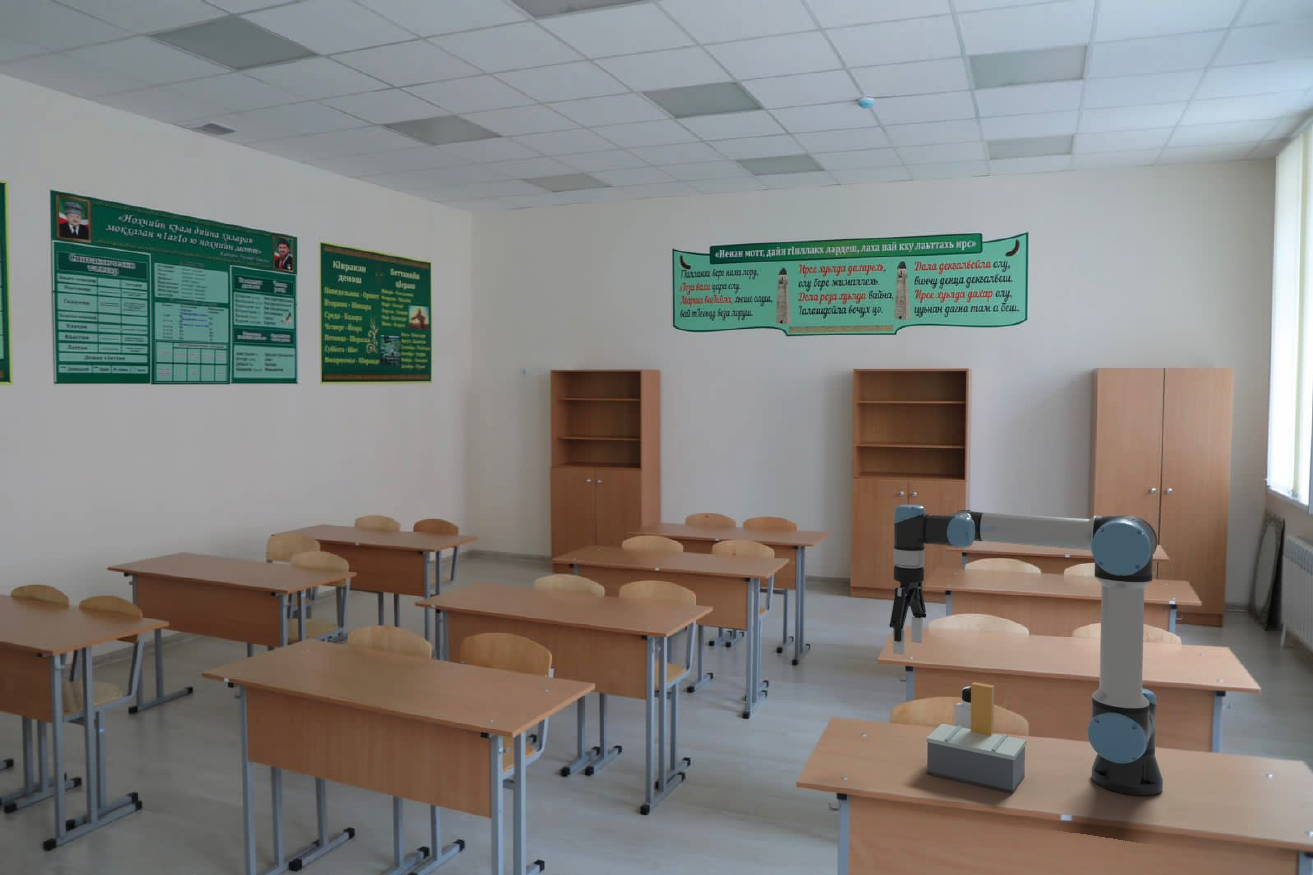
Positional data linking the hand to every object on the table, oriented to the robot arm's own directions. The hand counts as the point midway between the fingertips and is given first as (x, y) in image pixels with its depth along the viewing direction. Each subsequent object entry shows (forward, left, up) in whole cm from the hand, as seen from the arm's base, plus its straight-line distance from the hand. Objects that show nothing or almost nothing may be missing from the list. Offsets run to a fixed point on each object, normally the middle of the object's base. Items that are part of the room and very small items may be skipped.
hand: (908, 648), depth 234 cm
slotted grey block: (-18, +3, -20) cm, 27 cm away
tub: (-18, +3, -28) cm, 33 cm away
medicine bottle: (-9, -28, -28) cm, 41 cm away
